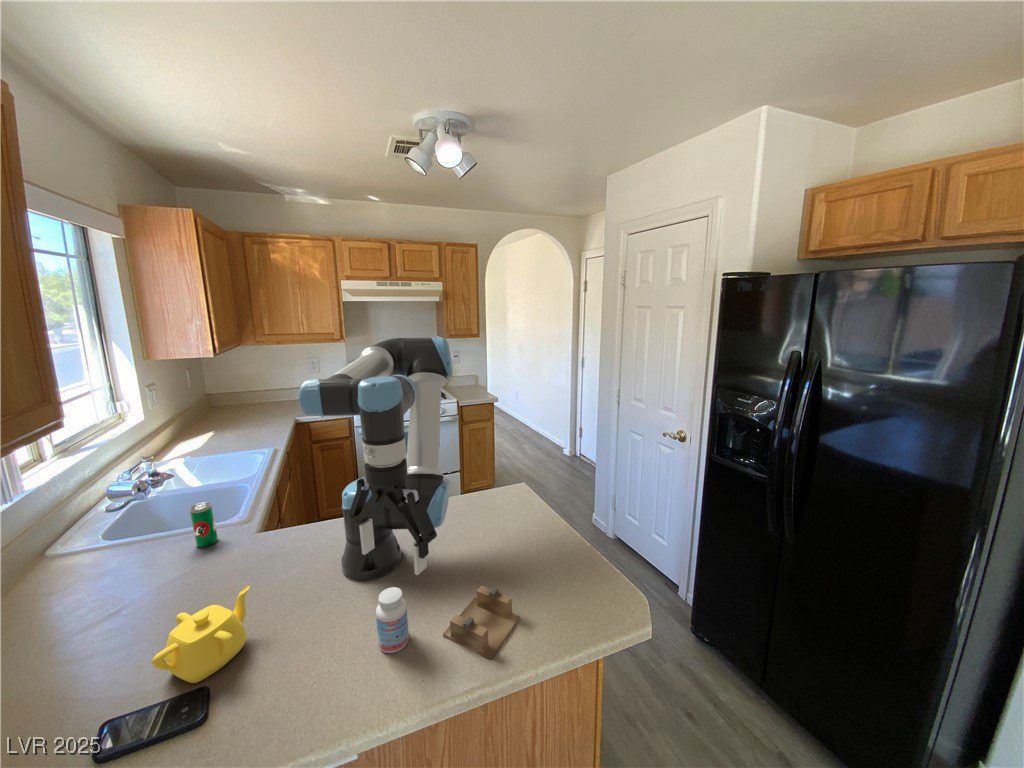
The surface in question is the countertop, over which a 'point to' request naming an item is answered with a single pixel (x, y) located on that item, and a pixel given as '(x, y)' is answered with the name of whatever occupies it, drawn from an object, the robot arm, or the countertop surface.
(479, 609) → the clip stand
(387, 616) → the pill bottle
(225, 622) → the teapot
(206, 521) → the soda can
